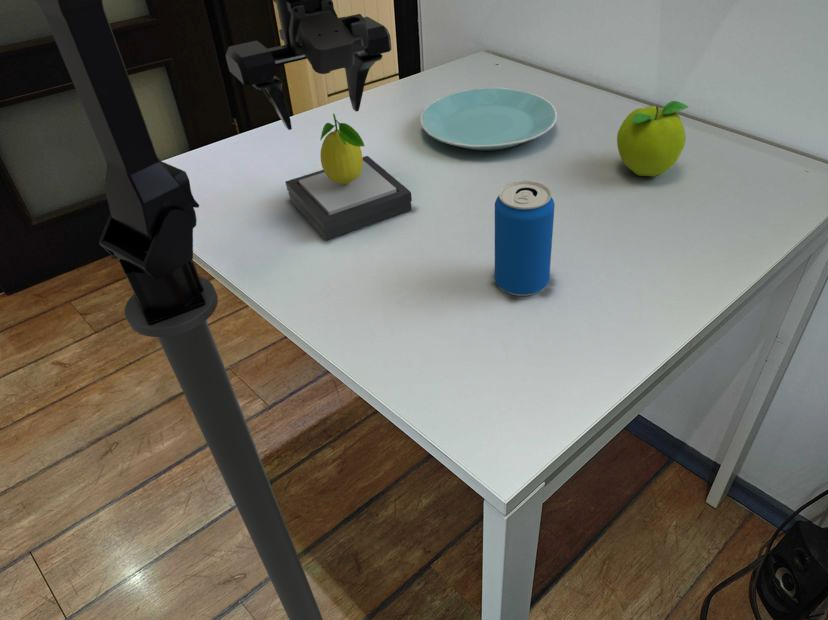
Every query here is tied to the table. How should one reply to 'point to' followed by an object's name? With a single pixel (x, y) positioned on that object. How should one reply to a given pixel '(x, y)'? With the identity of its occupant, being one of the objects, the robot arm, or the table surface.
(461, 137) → the plate
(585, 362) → the table surface
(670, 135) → the fruit
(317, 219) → the scale
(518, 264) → the beverage can
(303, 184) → the scale pan
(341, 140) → the lemon
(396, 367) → the table surface
